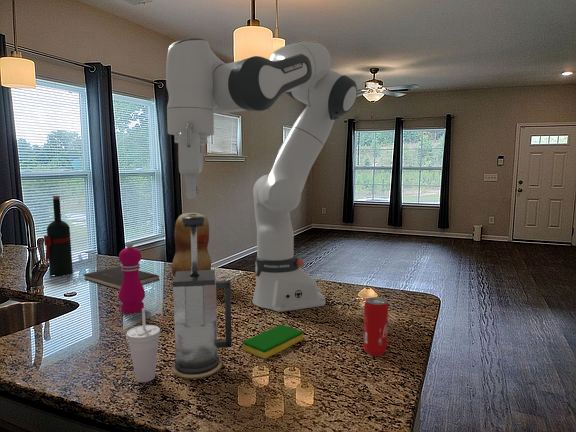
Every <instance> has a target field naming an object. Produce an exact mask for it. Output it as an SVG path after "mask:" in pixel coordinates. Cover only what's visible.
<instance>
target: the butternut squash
mask: <svg viewBox="0 0 576 432" xmlns="http://www.w3.org/2000/svg"><path fill="white" fill-rule="evenodd" d="M186 216H203V217H204V219H205V225H204V226H198V227H197V263H198V270H212V260H211V256H210V254H209V252H208V245H209V242H210V224H209V220H208V217H206V216H205V215H203V214H201V213H198V212H185V213H182V214H180V215H179V216H178V217H177V219H176V220H175V226H174V245H175V253H174V256H173V259H172V263H171V274H172V275H173V278H174V277H175V274H176V271H192V264H191V228H190V227H185V226H182V217H186Z"/></svg>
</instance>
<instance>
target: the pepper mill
mask: <svg viewBox="0 0 576 432" xmlns="http://www.w3.org/2000/svg"><path fill="white" fill-rule="evenodd" d="M118 260H119V263H121V265H120V266H121V267H122V269H121V270H122V271H123V283H122V286H121V288H120V289H118V290H119V292H118V301H119V302H120V303H122V304H121V305H120V312H121V313H123V314H127V315H129V314H137V313H141V312H142V309H143V308H145V304H144V302H143V301H144V299H145V297H146V291H145V288H144V285H143V284H141V282H140V279H139V274H138V271H140V269H141V266H140V265H141V264H140V263H139V262H140V261H141V260H142V253H141V251H140V249H138V248H136V247H134V243H133V242H131V241H130V242H127V243H126V247H125V248H123V249H122V250H121V251H120V252H119V254H118Z"/></svg>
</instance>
